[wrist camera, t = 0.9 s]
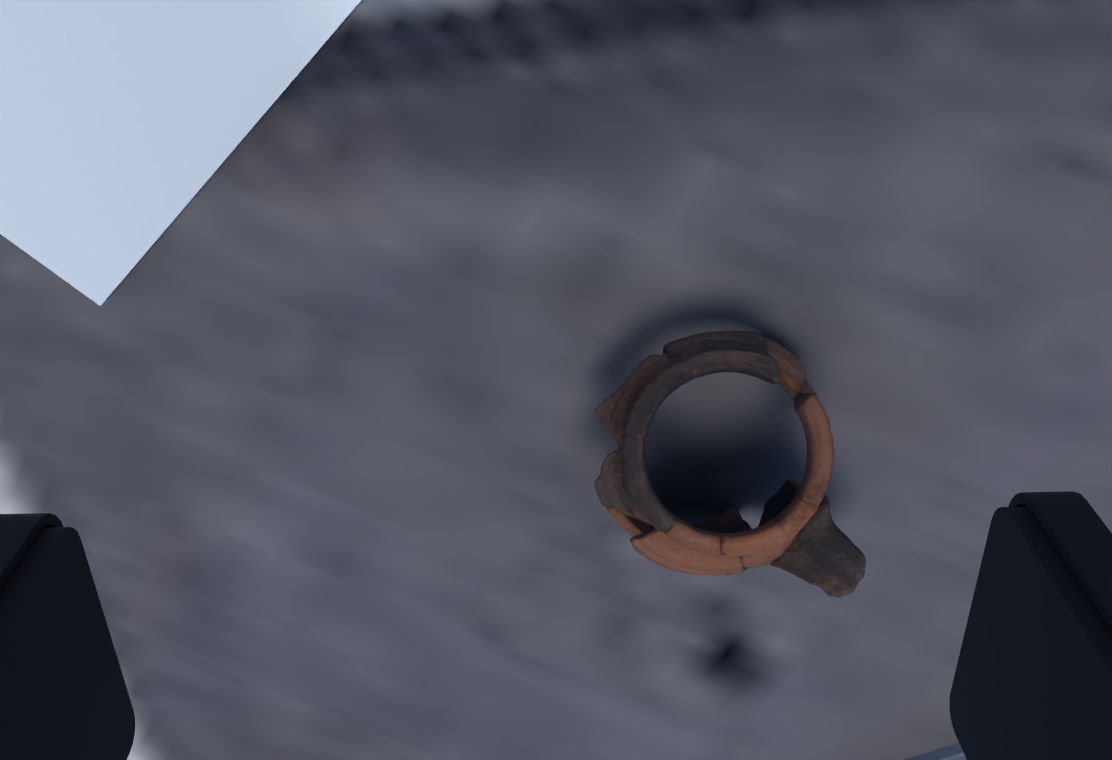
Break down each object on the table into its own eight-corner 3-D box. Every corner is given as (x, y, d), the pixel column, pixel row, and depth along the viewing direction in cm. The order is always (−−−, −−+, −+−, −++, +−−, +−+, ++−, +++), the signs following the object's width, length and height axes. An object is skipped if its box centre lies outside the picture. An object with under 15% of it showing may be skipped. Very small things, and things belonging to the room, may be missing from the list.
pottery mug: (536, 479, 43) (545, 498, 35) (661, 289, 44) (699, 265, 36) (775, 636, 44) (839, 691, 36) (896, 448, 44) (987, 459, 36)
